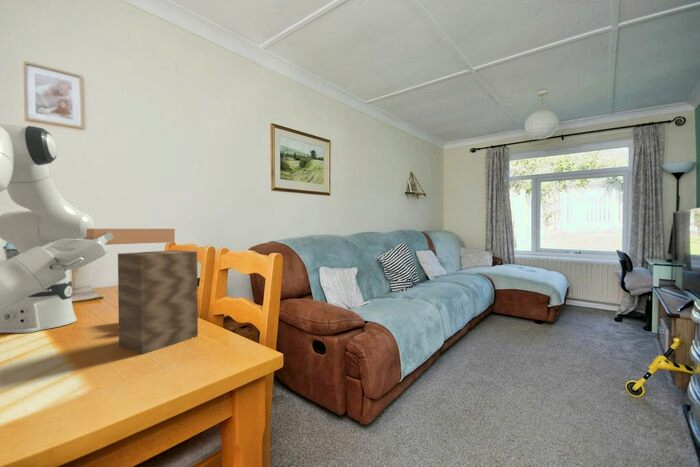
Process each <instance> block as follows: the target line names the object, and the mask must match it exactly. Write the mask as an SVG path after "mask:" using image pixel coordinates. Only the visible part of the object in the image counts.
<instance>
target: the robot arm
mask: <svg viewBox="0 0 700 467" xmlns="http://www.w3.org/2000/svg"><path fill="white" fill-rule="evenodd" d="M57 152H58V147H57V143H56V141H55V139H54V137H53V136H52V134H51V132H49V131H48V130H46V129H45V128H42V127H39V126H38V127H37V126H33V125H32V126H31V125H27V126H25V125H24V126H23V125H15V124H3V123H1V124H0V193H1V192H4V191H5V190H6V191H7V193H8V195H9V197H10V199H11V201H13V203H15V204H16V205H18V206H20V207H22V208H25V209H27V210H16V211H15V210H14V211H10V212H8V211H7V212H3V213H1V214H0V239H1V240H3V241H5V242H7V243H9V244H10V245H11V246H12V247H13V248H14V249H16V251H17V253H19V254H17V255H16V256H12V257H11V258H8V259H1V258H0V334H1V333H2V334H3V333H9V334H10V333H11V334H12V333H13V334H15V333H17V334H19V333H20V334H22V333H23V334H24V333H25V334H28V333H33V332H38V331H41V330H48V329H53V328H58V327H63V326H66V325H69V324H72V323H75V322H76V321H78V318H77V316H76V314H75V310H74V306H73V301H72V296H73V282H72V280H71V270H73V271H74V270H77V269H78V270H79V269H80V268H82V267H85V266H87V265H88V264H90V263H91V264H92V262H94V261H96V260H99V259H101V258H102V257H104V256H105V255H107V254H108V252H109V249H107V246H106V245H104V244H106V243H107V242H108V241H110V240H111V239H113V236H112V234H111V233H104V234H102V235H100V237H98V238H96V239H93V240H90V239H87V229H96V225H95V221H94V220H93V218H92V217H91V216H90V215H89V214H88V213H85V212H84V211H81V210H79V209H77V208H76V207H74V206H73V205H71V204H70V203H69V202H68V201H66V199H65V198H64V197H63V196H62V195H61V194H60V192H59V189H58V188H57V185H56V183H55V180H54V179H53V175H52V173H51V170H50V168H49V164H51V163H52V162H55V160H56V158H57Z"/></svg>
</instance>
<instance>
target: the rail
mask: <svg viewBox="0 0 700 467" xmlns="http://www.w3.org/2000/svg"><path fill="white" fill-rule="evenodd" d="M175 230H176V229H175V228H95V229H87V239H90V240H93V239H96V238H98V237H100V235H102V234H104V233H111V234H112V236H113V239H111V240H110V241H108V242H107V243H106V244H104V245H105V246H107V245H108V246H109V245H133V244H138V245H139V244H158V243H159V244H160V243H161V244H162V243H163V244H164V243H165V244H166V243H175V241H176V239H175V237H176V236H175Z"/></svg>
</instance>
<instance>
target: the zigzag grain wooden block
mask: <svg viewBox="0 0 700 467" xmlns="http://www.w3.org/2000/svg"><path fill="white" fill-rule="evenodd" d="M117 281H118V282H117V283H118V284H117V288H118V289H117V291H118V292H117V293H118V295H117V298H118V302H117V303H118V347H121V348H123V349H127V350H129V351H131V352H134V353H137V354H140V355H145V354H148V353H151V352H154V351H157V350H160V349H163V348H166V347H168V346H172V345H176V344H178V343H181V341H182V342H184V341H188V340H191V339H193V338H192V337H194V336H197V335H198V336H199V331H198V329H199V328H198V326H199V323H198V322H199V321H198V318H199V317H198V315H199V313H198V312H199V311H198V302H199V301H198V251H193V250H192V251H191V250H190V251H189V250H176V249H175V250H173V249H172V250H170V249H168V250H154V251H142V252H141V251H139V252H124V253H117ZM198 336H197V337H198ZM190 338H191V339H190ZM194 338H195V337H194ZM187 339H188V340H187Z"/></svg>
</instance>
